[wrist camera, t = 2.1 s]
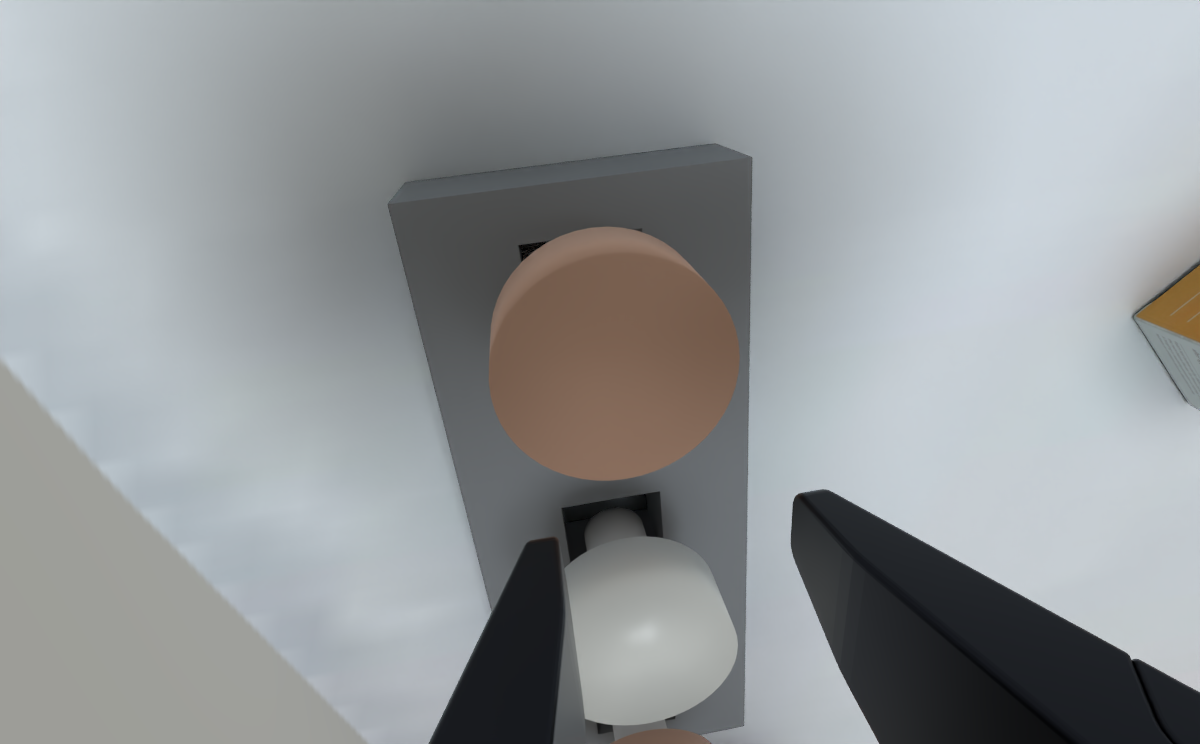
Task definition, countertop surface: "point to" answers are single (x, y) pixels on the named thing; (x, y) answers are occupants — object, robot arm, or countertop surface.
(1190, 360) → the small box
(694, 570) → the knob middle
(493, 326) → the knob
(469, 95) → the countertop surface
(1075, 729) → the robot arm
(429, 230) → the knob strip
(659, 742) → the knob
